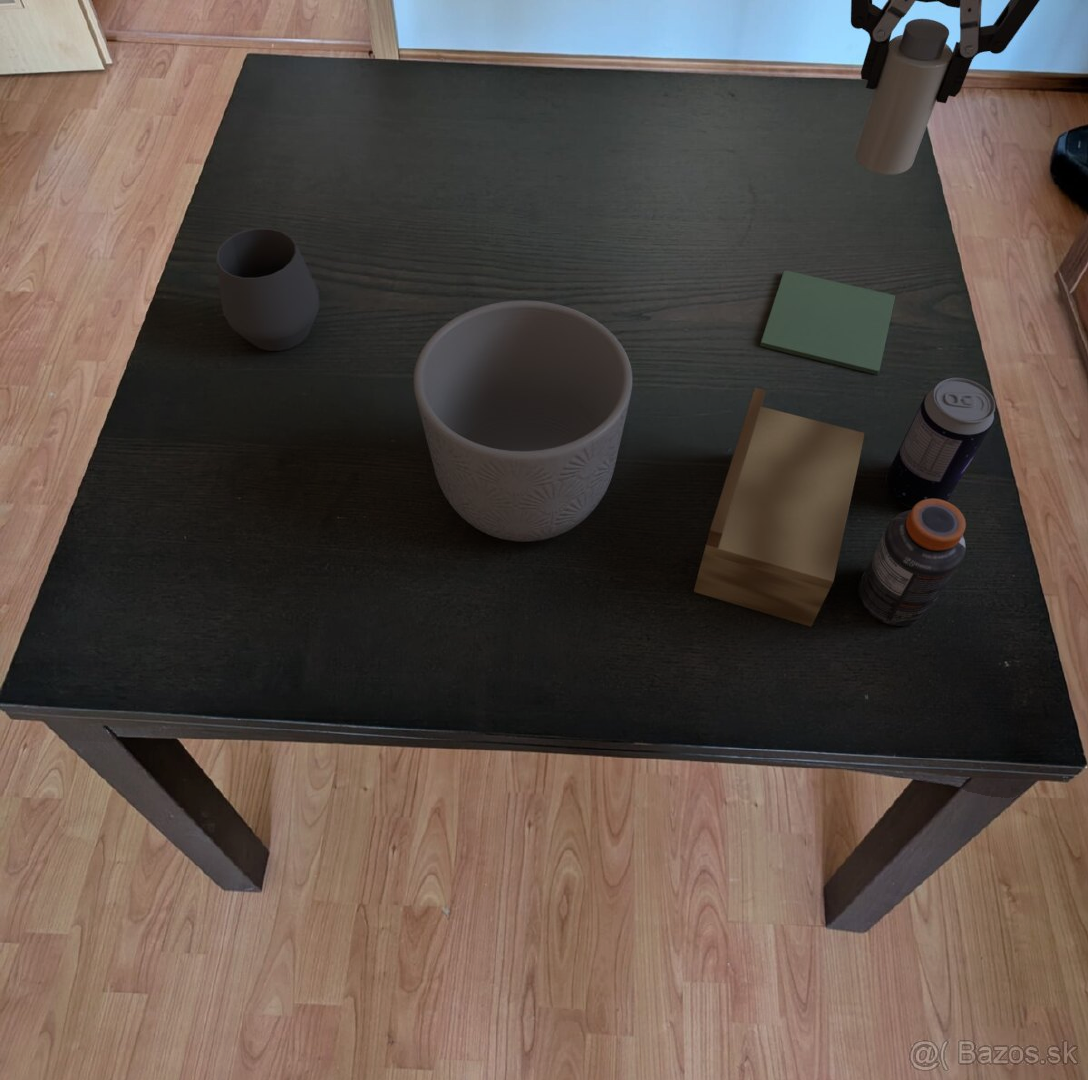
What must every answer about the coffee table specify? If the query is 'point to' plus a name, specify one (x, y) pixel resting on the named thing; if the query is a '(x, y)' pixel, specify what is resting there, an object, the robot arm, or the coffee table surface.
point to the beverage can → (941, 441)
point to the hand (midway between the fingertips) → (907, 89)
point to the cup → (266, 288)
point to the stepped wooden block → (781, 514)
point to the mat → (829, 322)
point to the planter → (523, 415)
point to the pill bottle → (913, 562)
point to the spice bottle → (904, 97)
